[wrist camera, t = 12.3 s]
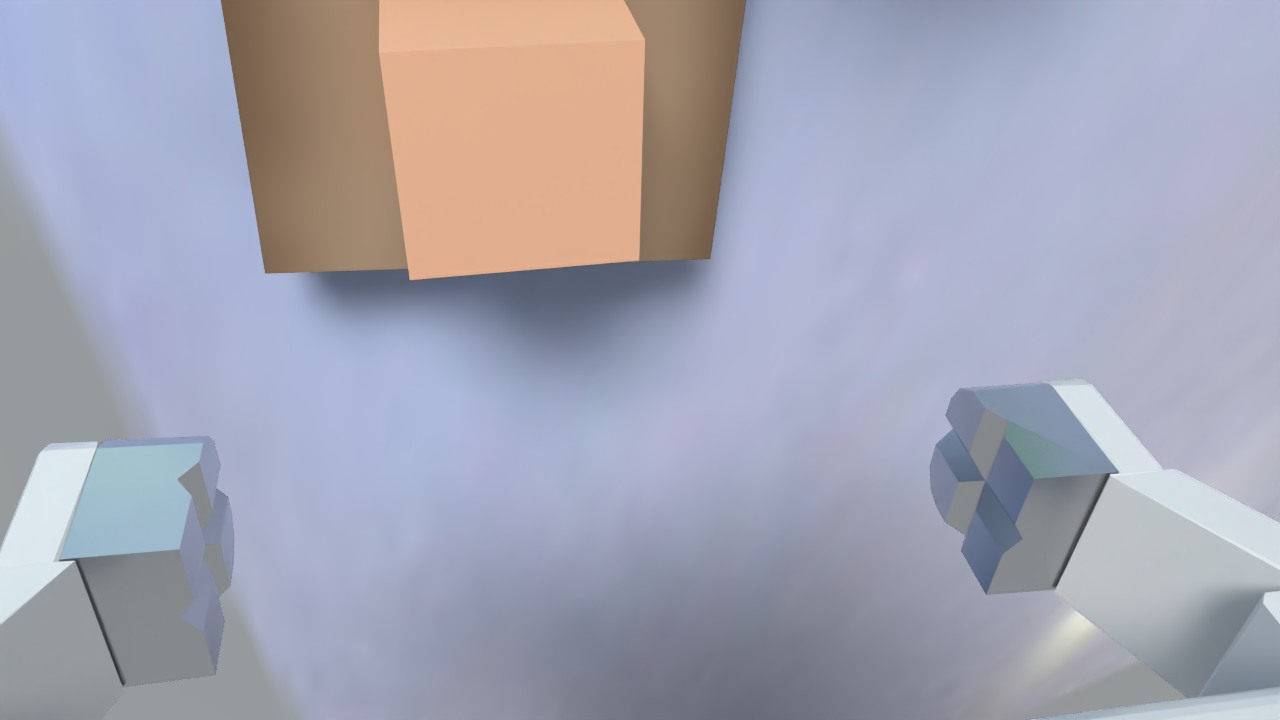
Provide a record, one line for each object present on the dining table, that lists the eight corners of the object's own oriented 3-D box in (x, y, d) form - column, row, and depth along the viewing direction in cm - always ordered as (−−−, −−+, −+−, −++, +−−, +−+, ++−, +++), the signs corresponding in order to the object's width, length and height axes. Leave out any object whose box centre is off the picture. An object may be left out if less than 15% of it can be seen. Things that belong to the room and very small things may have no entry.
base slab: (729, -248, 25) (776, -222, 22) (679, 192, 32) (710, 258, 29) (207, -284, 23) (178, -260, 20) (278, 199, 30) (265, 273, 27)
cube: (602, -41, 24) (645, 39, 20) (602, 158, 27) (639, 260, 23) (379, -32, 23) (378, 52, 19) (405, 171, 26) (409, 280, 22)
